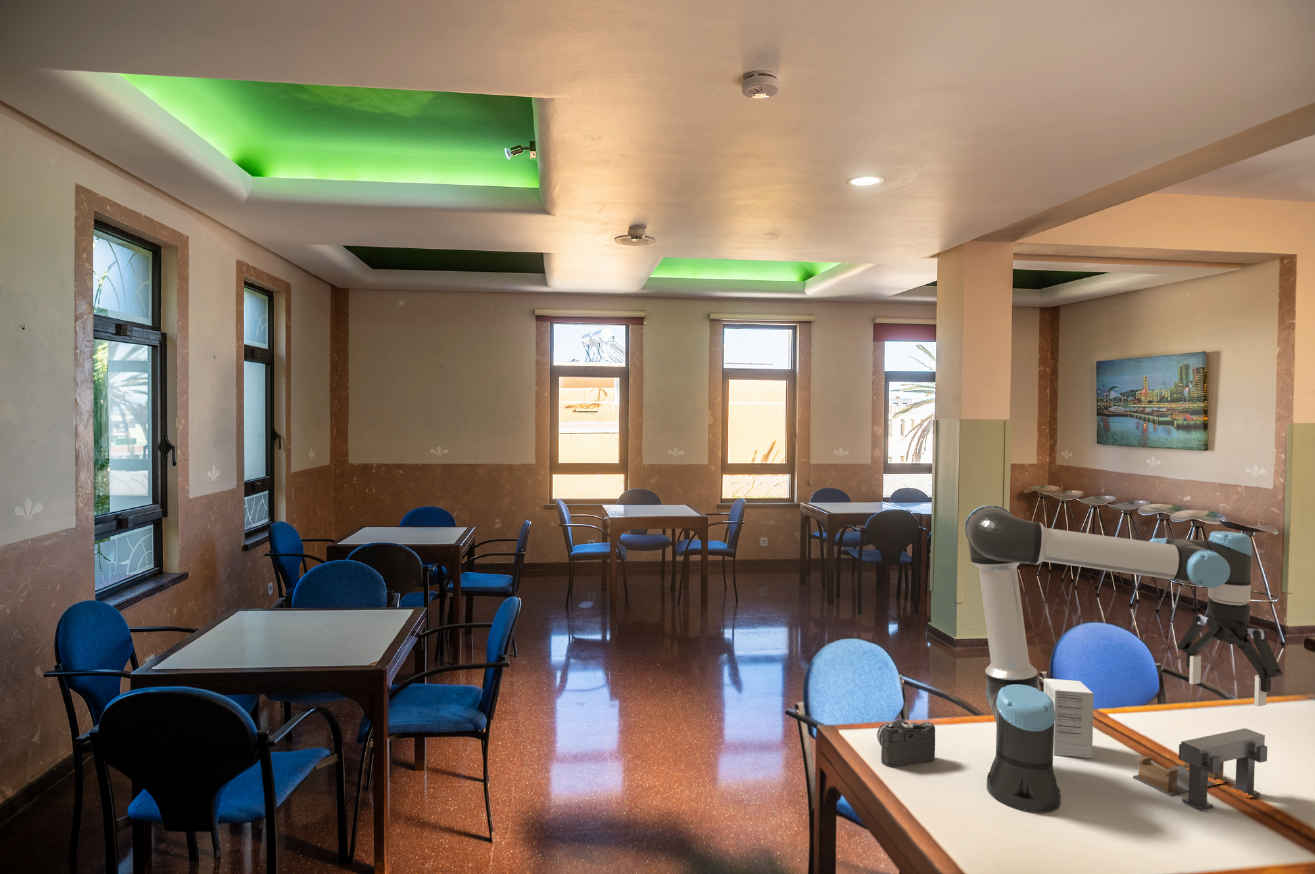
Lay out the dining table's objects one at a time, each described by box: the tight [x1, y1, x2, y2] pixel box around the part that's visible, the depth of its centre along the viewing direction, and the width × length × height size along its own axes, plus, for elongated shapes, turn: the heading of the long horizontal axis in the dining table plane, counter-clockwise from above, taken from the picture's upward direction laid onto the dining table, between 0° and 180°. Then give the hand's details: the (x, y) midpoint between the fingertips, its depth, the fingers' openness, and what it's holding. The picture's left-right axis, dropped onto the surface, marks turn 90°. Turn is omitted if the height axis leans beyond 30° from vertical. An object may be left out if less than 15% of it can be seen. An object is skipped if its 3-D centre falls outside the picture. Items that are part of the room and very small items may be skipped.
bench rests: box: [1132, 755, 1230, 797], centre depth 172 cm, size 20×9×5 cm, turn 110°
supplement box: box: [1043, 678, 1095, 759], centre depth 187 cm, size 10×9×17 cm
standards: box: [1178, 743, 1268, 812], centre depth 163 cm, size 20×7×12 cm, turn 110°
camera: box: [876, 718, 936, 767], centre depth 182 cm, size 14×11×10 cm
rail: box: [1180, 727, 1266, 767], centre depth 163 cm, size 22×4×4 cm, turn 110°
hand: (1226, 693), depth 163 cm, fingers open, 13 cm apart
